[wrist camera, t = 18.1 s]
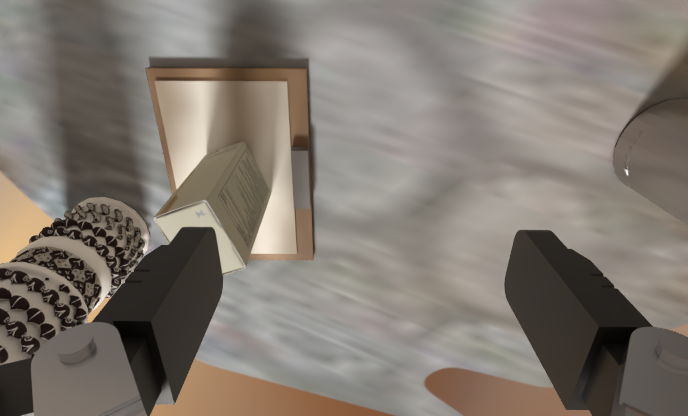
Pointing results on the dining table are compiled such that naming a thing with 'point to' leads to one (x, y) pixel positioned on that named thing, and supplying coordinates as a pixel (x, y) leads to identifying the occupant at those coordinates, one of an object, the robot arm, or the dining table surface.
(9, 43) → the dining table surface
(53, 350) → the robot arm
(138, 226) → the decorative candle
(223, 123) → the clipboard
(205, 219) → the skincare box
